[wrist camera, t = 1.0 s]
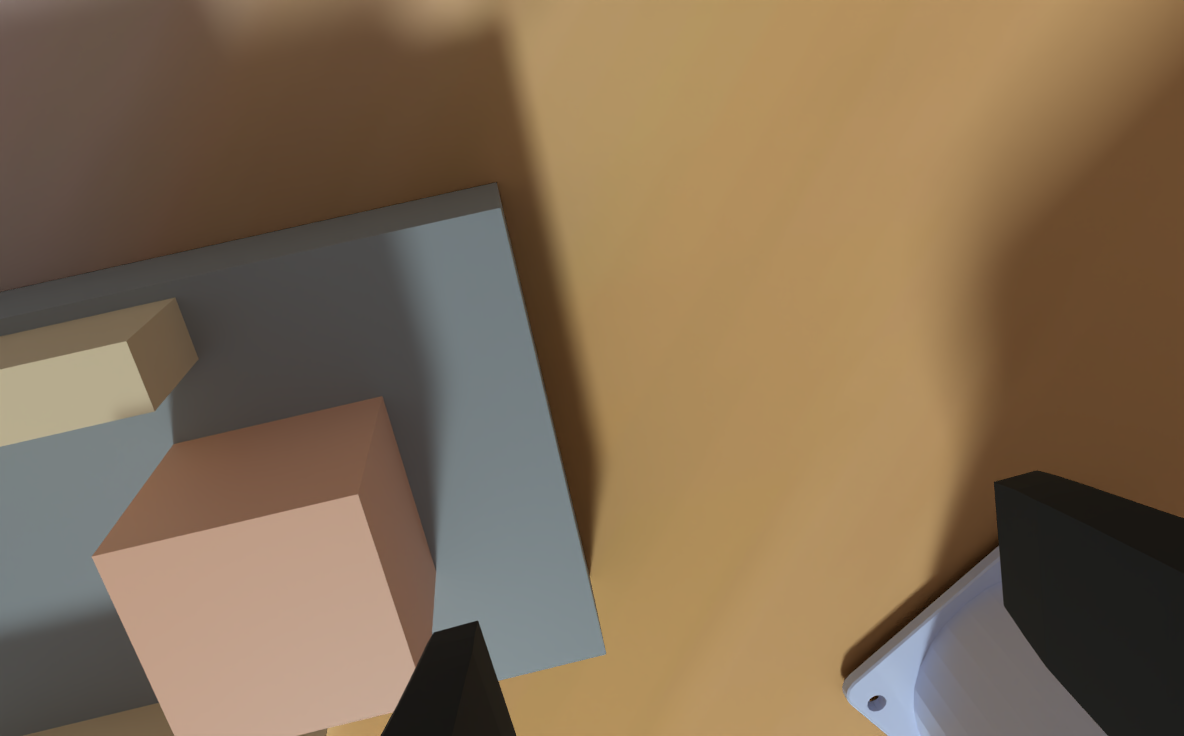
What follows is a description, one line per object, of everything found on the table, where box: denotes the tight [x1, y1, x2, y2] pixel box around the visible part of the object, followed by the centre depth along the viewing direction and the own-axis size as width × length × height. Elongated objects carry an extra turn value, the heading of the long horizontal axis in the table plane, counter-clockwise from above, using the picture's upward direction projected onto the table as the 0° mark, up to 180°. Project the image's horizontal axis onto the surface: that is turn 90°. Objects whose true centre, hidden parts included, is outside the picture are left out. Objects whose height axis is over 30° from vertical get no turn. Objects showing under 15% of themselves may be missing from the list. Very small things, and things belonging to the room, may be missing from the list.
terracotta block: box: [92, 396, 436, 736], centre depth 16 cm, size 4×4×4 cm
